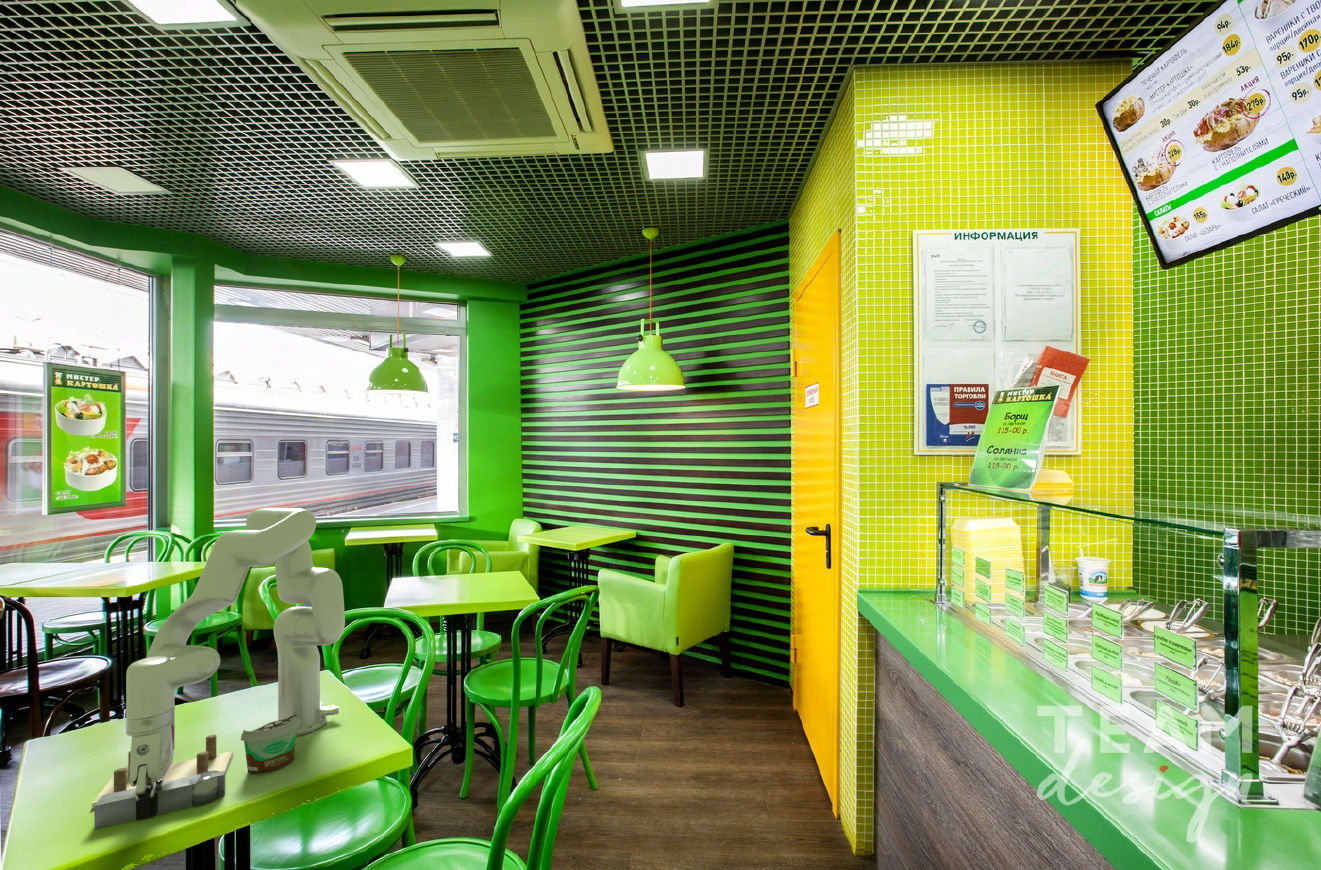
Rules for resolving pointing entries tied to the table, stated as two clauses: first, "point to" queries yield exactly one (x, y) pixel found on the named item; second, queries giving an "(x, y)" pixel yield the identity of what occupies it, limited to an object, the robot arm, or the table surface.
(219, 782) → the grey ball-end lever
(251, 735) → the food container
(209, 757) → the rack
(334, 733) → the table surface
